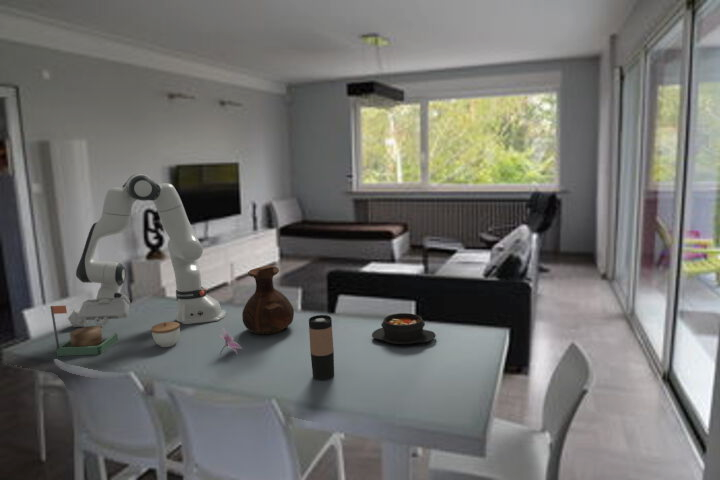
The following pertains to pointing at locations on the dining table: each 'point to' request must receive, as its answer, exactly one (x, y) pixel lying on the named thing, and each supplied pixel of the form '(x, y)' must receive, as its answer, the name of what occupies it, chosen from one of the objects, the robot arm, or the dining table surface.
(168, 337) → the lidded jar
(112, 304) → the robot arm
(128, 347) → the dining table surface
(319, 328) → the travel mug
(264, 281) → the jug
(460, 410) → the dining table surface
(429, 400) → the dining table surface
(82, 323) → the white faceted block
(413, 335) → the casserole
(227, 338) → the lily
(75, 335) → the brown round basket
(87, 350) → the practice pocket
